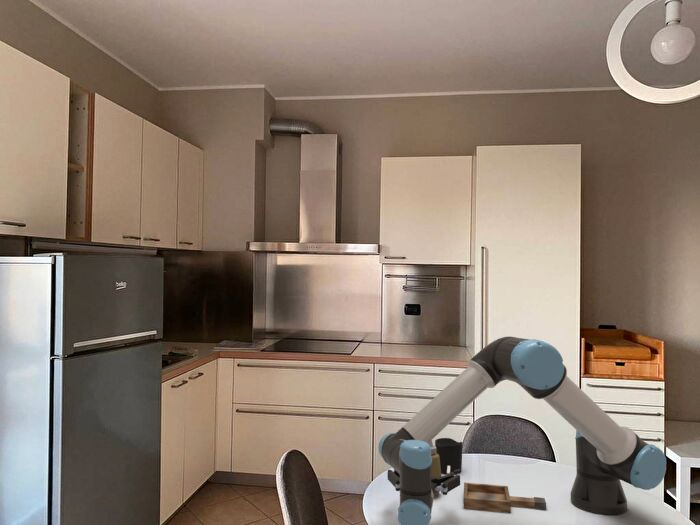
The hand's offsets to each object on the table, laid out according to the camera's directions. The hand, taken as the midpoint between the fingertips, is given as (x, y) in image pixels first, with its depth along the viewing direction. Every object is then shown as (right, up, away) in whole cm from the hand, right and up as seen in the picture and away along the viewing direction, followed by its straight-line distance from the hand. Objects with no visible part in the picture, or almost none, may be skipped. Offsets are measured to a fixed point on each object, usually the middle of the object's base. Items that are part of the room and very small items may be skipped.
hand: (425, 468), depth 159 cm
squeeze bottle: (+2, -10, +6) cm, 12 cm away
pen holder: (+12, -12, +28) cm, 33 cm away
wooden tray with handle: (+23, -10, -1) cm, 25 cm away
